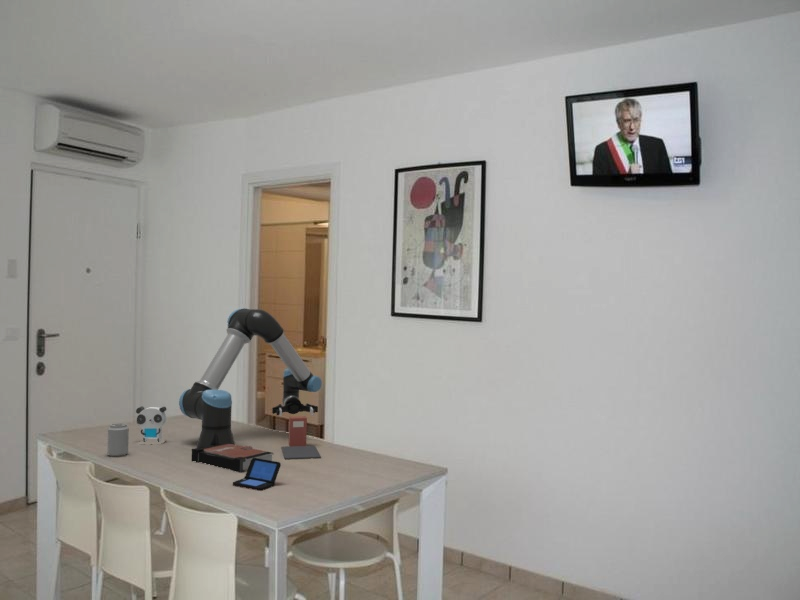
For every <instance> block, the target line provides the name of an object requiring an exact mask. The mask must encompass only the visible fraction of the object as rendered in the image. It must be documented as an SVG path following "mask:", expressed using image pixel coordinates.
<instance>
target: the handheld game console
mask: <svg viewBox="0 0 800 600" xmlns="http://www.w3.org/2000/svg"><path fill="white" fill-rule="evenodd" d="M281 464H282V463H281V462H280V461H275V460H272V461H269V460H264V459H258V458H253V459H252V460H251V462H250V465H249V467H248V470H247V471H246V473H245V475H244V476H243V477H244V478H241V479H238V480H235V481H233V482H232V486H234V485H235V486H234V487H238V486H240V487H239V488H243V487H246V488H245V489H249V488H252V489H251V490H254V489H257V490H256V491H264V490H267V489H269V487H270V488H272V487H274V485H275V486H276V484H275V483H276V480H277V477H278V474H279V471H280V469H281ZM271 486H272V487H271ZM266 488H267V489H266ZM263 489H264V490H263Z"/></svg>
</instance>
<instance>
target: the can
mask: <svg viewBox="0 0 800 600" xmlns="http://www.w3.org/2000/svg"><path fill="white" fill-rule="evenodd" d="M127 425H128V424H127V423H125V422H117V423H110V425H109V427H108V429H107V454H108V456H110V457H114V456H117V457H121V456H120V455H124V456H126V455H127V454H128V453H129V440H130V439H129V438H130V437H129V432H130V431H129V429H130V428H129V426H127ZM125 454H126V455H125Z"/></svg>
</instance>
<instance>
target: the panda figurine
mask: <svg viewBox="0 0 800 600" xmlns="http://www.w3.org/2000/svg"><path fill="white" fill-rule="evenodd" d="M166 411H167V407H166V406H161V407H158V406H150V407H147V408H145V407H144V406H139V407H137V408H136V409H135V413H136V414H138V415H137V417H136V423H137V426H138V427H139V428H140V429H141V430H140V433H141V435H142V440H143V442H146V441H147V440H148V439H157V441H158V442H160V441H161V440H162V439H163V438H162V437H163V436H162V433H163V432H162V429H163V428H162V427H163V426H164V425H165V424H166V421H167V415H166Z"/></svg>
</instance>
